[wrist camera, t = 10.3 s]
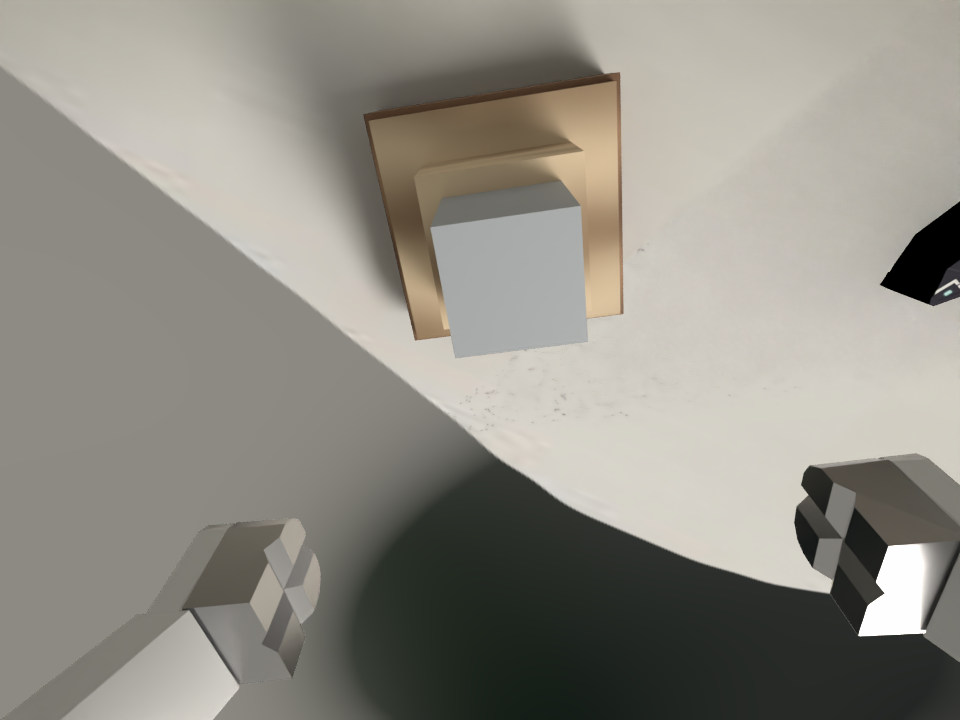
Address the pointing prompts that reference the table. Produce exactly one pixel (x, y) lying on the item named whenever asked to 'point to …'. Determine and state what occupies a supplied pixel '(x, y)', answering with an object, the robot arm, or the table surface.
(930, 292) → the black long flat piece
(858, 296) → the table surface
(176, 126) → the table surface
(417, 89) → the table surface
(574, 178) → the oak block
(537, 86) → the plinth
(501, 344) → the grey cube
